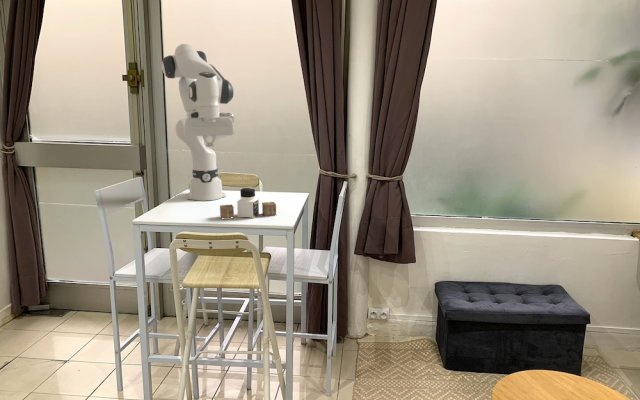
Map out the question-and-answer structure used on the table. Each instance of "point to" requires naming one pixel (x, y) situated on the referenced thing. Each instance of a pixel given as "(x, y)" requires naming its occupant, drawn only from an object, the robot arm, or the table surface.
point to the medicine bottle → (248, 203)
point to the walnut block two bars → (268, 208)
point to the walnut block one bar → (226, 211)
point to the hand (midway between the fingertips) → (209, 146)
